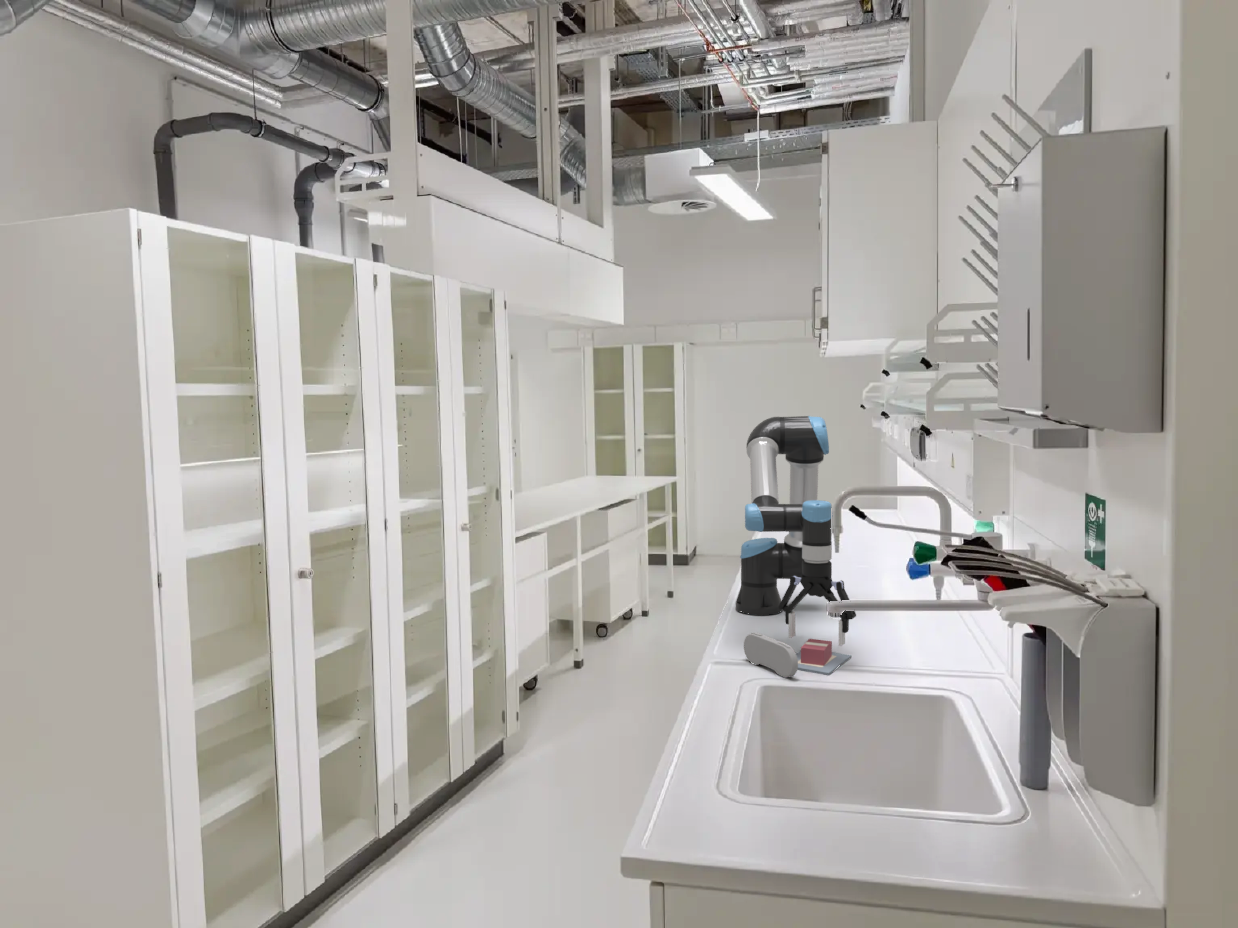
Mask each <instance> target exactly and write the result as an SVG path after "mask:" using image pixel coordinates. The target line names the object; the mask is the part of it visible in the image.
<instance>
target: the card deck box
mask: <svg viewBox="0 0 1238 928" xmlns="http://www.w3.org/2000/svg"><path fill="white" fill-rule="evenodd" d="M832 643H833V641H831V640H825V639H816V638H808V640H806V641H805V642H804V644H803V645H802V646H801V647H800V651H801V663H806V664H814V665H821V666H824V665H825V664H826V663H827V661H828V660H829V659H830V658H831V656H832V652H833V647H832V646H833V644H832Z"/></svg>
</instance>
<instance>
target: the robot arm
mask: <svg viewBox="0 0 1238 928" xmlns="http://www.w3.org/2000/svg"><path fill="white" fill-rule="evenodd" d="M829 453H830V444H829V435H828V430H827V424H826V421H825V419H824V418H823V417H821V416H811V415H807V416H806V415H804V416H772V417H769V418H766V419H764V420H762V422H760V423H758V424H757V425H756V426H755V427H754V428H753V429H752V431H751V432H750V433H749V435H748V438H747V442H746V454H747V457H748V458H749V460H750V461H749V462H750V465H749V466H750V492H751V493H750V494H751V495H750V497H751V498H750V499H751V503H747V504H746V505H745V507H744V528H745V529H746V530H747V531H749V532H759V533H762V532H763V533H764V532H765V533H766V532H769V533H770V532H775V533H776V532H779V533H780V532H783V533H784V532H786V533H787V532H788V533H787V534H785V536H784V539H783V540H784V541H783V542H778V540H777V539H776V538H774V537H760V538H753V539H750V540H746V541H745V542H743V543H742V544H741V547H740V548H741V549H740V557H739V558H740V588H739V591H738V594H737V597H736V601H735V611H737V612H738V611H742V612H744V613H749V614H748V615H750V614H757V615H756V616H769V614H773V615H776V614H775V613H778V612H780V611H782V612H784V613H785V621H784V622H785V625H788V639H792V638H794V637H795V636H796V611H793V610H794V609H795V608H796V607H797V606H798V605H799V604H800V602H801V601H802V600H804V598H805V597H806V596H807V595H809V596H810V597H814V596H816V597H818V598H822V597H823V598H824V599H825V600H827V602H828V603H829V602H830V601H839V600H838V599H837V597H836V596H835V594H834V592H833V590H832V588H833V587H834V590H836V592H837V595H838V597H839V599H840V602H841V601H842V600H850V598H849V595H848V594H847V591H846V589H845V582H844V580H842V579H841V580H839V581H836V580H835V581H833V578H832V573H833V571H832V562H831V560H832V559H833V558H832V557H833V556H832V551H833V550H832V547H833V545H832V542H833V541H832V533H833V532H832V533H831V529H830V528H831V508H832V503H831V502H830V501H826V500H819V499H818V494H819V493H818V491H819V490H818V487H819V486H818V485H819V465H820V464H822V463H823V461H824V455H825V456H826V455H828V454H829ZM778 455H785V456H784V457H785V461H786V462H787V463H788V464H789V469H790V470H789V472H790V473H789V503H779V502H780V501H779V488H778V487H779V486H778V485H779V484H778V471H777V456H778ZM779 579H780V580H789V584H788V588H786V591H785V593H784V594H783V597H782V599H781V596H780V593H779V590H778V589H779V588H778V580H779ZM799 584H800V585H801V586H802V587H803V589H801V591H800V592H799V593H798V594H797V596H796V597H795V598H793V600H792V601H791V602H790V600H791V598H792V596H793V594H794V592H795V590H796V588H797V586H799ZM789 602H790V603H789ZM788 603H789V604H788ZM744 613H743V614H744ZM780 613H781V612H780ZM778 614H779V613H778ZM856 617H857V613H856V611H855V610H854V611H846V610H845V611H844V612H843V613H842V615H840V616H839V618H840V619H839V620H838V646H839V647H840V646H841V647H842V646H843V645H845V643H846V634H848V632H849V629H850V628H849V625H850V623H849V621H850V620H853V619H854V618H856Z"/></svg>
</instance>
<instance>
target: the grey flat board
mask: <svg viewBox="0 0 1238 928" xmlns="http://www.w3.org/2000/svg"><path fill="white" fill-rule="evenodd" d="M795 653H796V652H795ZM796 656H797V659H798V669H797V671H802V672H808V673H814V674H820V675H826V676H830V675H832V674H833V673H834V672H835V671H836V670H837V669H836V668H837V667H838V666H839V665H841V664H843V663H844V662H845V661H846V662H848V661H849V660H850V659H851V658H852V655H851V654H846V653H840V652H834V651H832V656H831V658H830V659H829V660H828V661H827V663H826V664H825V665H824V666H821V665H814V664H806V663H801V650H799V651H798V652H797V653H796ZM850 657H851V658H850ZM849 658H850V659H849ZM848 659H849V660H848ZM847 660H848V661H847ZM846 662H845V663H846ZM845 663H844V664H845ZM844 664H843V665H844ZM841 666H842V665H841ZM835 669H836V670H835ZM834 670H835V671H834ZM833 671H834V672H833Z"/></svg>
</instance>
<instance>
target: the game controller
mask: <svg viewBox="0 0 1238 928" xmlns="http://www.w3.org/2000/svg"><path fill="white" fill-rule="evenodd" d="M743 650H744V651H743V652H744V654H745V658H746V659H747V661H748V662H749V661H750V662H752V663H754V664H756V665H755V666H758V665H759V664H760V665H762V666H765V667H766V668H769V669H771V670H772V671H775V673H776V674H777V675H778V674H779V675H781V676H783V677H782V678H784V677H785V678H790V677H794V676H795V675H796V674H797V672H798V670H797V669H798V659H797V656H796V652H795V649H794V648H793V647H792V646H790V645H789V644H787V643H786V642H783V641H780V640H778V639H775V638H772V637H770V636H766V635H765V634H762V633H759V632H750V633H749V634H747V635H746V636H745V639H744V641H743ZM750 662H749V663H750ZM752 663H751V664H752ZM754 664H753V665H754ZM760 665H759V666H760ZM779 675H778V676H779ZM781 676H780V677H781Z"/></svg>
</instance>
